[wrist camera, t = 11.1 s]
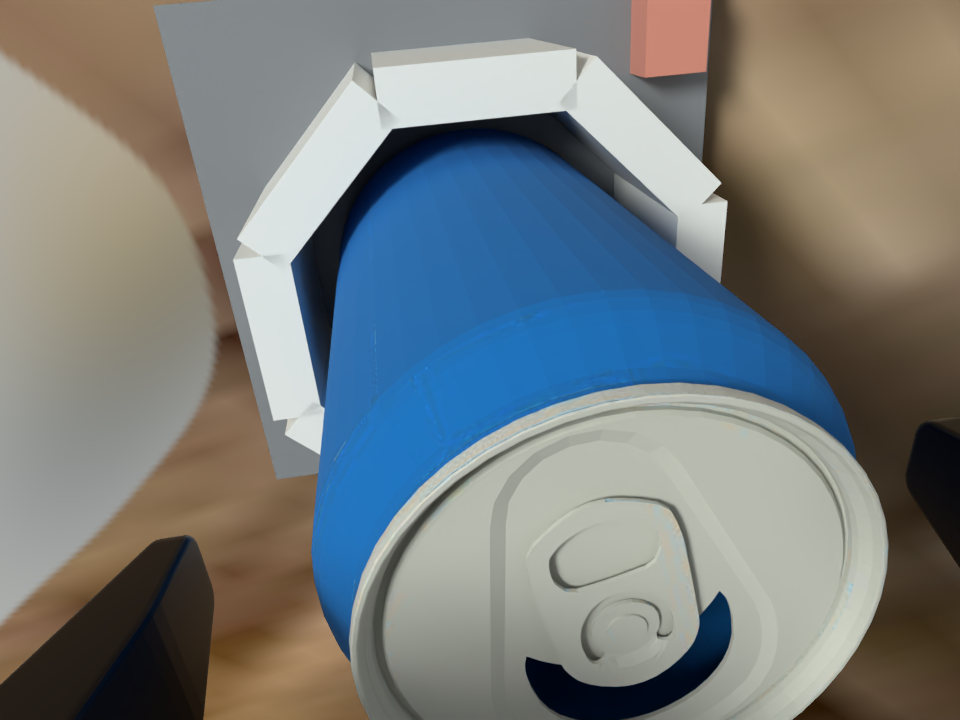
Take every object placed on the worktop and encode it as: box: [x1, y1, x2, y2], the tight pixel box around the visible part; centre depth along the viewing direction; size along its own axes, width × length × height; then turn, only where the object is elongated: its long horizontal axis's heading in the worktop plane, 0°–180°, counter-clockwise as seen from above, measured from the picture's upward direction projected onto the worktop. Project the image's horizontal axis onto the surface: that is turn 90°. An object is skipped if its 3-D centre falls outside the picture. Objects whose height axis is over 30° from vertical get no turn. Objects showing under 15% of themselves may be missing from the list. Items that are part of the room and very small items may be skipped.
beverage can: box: [311, 129, 889, 720], centre depth 12 cm, size 6×6×12 cm
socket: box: [153, 0, 728, 479], centre depth 16 cm, size 12×12×5 cm
